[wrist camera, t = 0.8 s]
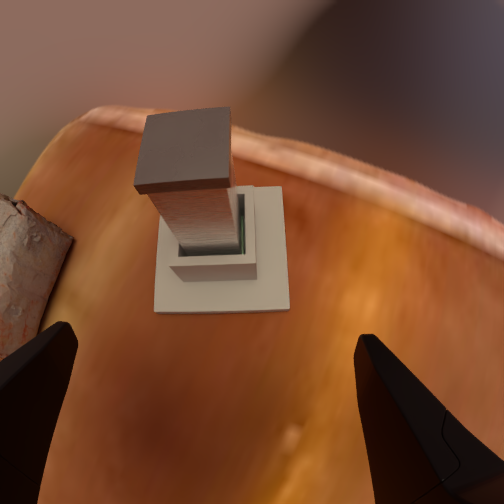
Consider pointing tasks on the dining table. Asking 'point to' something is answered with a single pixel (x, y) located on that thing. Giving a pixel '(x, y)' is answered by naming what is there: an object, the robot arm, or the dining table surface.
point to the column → (193, 179)
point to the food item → (26, 270)
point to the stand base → (229, 265)
